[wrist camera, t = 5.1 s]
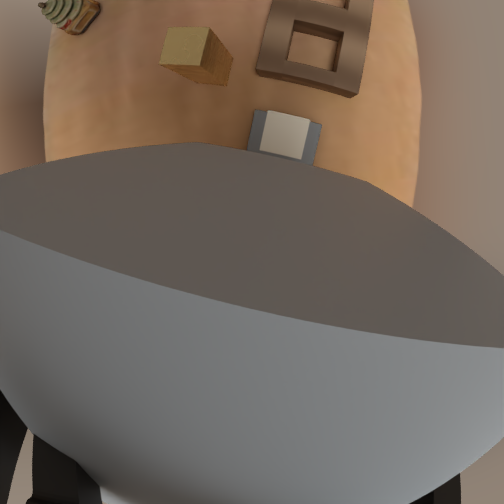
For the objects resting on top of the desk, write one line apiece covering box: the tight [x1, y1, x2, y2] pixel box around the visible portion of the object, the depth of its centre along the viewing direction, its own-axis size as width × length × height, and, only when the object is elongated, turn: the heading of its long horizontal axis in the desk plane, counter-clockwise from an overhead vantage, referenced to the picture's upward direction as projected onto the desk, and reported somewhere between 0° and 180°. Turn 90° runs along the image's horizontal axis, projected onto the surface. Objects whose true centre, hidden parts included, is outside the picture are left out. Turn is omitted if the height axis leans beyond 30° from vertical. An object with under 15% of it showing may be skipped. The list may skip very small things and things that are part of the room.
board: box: [247, 109, 322, 166], centre depth 24 cm, size 12×7×11 cm, turn 168°
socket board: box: [256, 0, 374, 98], centre depth 20 cm, size 16×10×4 cm, turn 168°
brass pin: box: [159, 27, 233, 86], centre depth 21 cm, size 4×4×10 cm
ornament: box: [38, 0, 100, 35], centre depth 17 cm, size 8×6×10 cm
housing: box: [0, 142, 504, 504], centre depth 10 cm, size 14×9×13 cm, turn 169°
